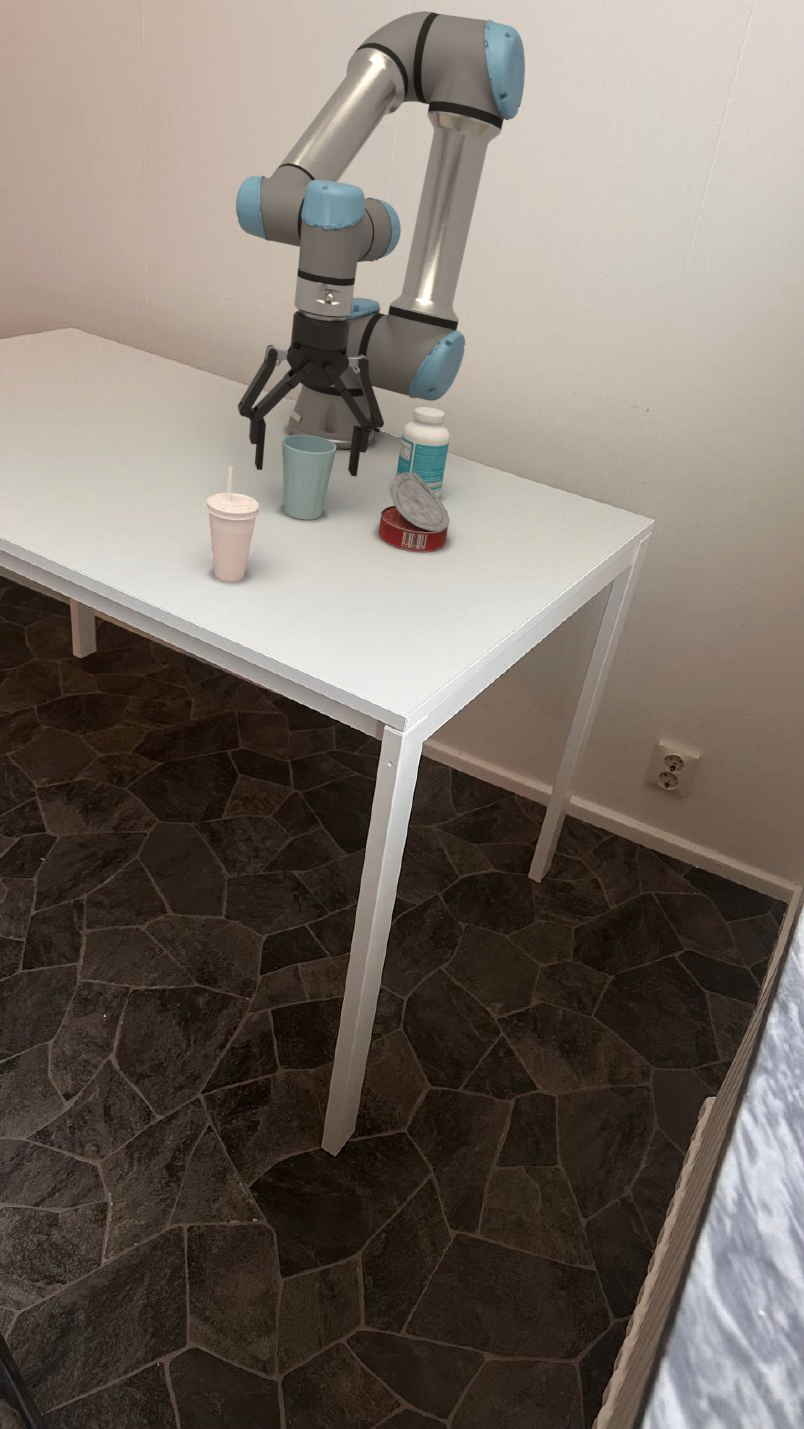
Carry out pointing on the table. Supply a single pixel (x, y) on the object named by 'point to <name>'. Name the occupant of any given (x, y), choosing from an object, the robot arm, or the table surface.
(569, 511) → the table surface
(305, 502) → the cup
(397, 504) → the canned food
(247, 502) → the smoothie
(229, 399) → the table surface
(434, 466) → the pill bottle
